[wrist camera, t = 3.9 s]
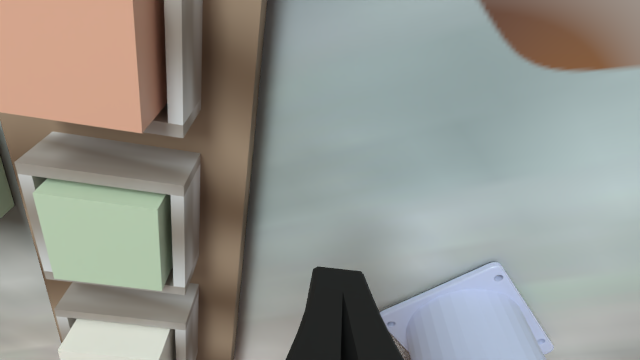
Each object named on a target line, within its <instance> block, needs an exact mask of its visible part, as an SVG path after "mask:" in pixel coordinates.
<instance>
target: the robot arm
mask: <svg viewBox="0 0 640 360" xmlns="http://www.w3.org/2000/svg"><path fill="white" fill-rule="evenodd" d="M497 275H498V276H497ZM389 332H390V333H391V334H392V335H393V336H394V337H395V338H396V340H397V341H398V342H399V343H400V344H401V345H402V346H403V347H404V348H405V349H406V350H407V351H408V352H409V353H410V357H411V360H546V358H545V356H544V354H547V353H549V352H551V351H552V350H553V348H554V347H553V345H552V343H551V341H550V339H549V338H548V336H547V335H546V333H545V332H544V330H543V329H542V327H541V326H540V324H539V322H538V321H537V319H536V318H535V316H534V315H533V313H532V312H531V310H530V308H529V307H528V305H527V304H526V302H525V301H524V299H523V298H522V296H521V295H520V293H519V291H518V290H517V288H516V287H515V285H514V284H513V282H512V281H511V279H510V278H509V276H508V274H507V273H506V271H505V270H504V268H503V267H502V265H501V264H500V263H497V262H492V263H489V264H486V265H484V266H482V267H480V268H477V269H475V270H473V271H471V272H468V273H466V274H464V275H462V276H459V277H457V278H455V279H453V280H451V281H448V282H446V283H444V284H442V285H439V286H437V287H435V288H433V289H430V290H428V291H426V292H424V293H421V294H419V295H417V296H415V297H412V298H410V299H408V300H406V301H403V302H401V303H399V304H397V305H394V306H392V307H390V308H388V309H385V310H383V311H381V312H379V310H378V308H377V306H376V304H375V301H374V299H373V297H372V294H371V292H370V290H369V287H368V284H367V282H366V279H365V276H364V274H363V273H362V272H361V271H352V270H343V269H334V268H325V267H316V268H314V269H313V272H312V278H311V283H310V288H309V293H308V299H307V304H306V309H305V312H304V315H303V318H302V321H301V324H300V327H299V329H298V332H297V335H296V337H295V339H294V342H293V344H292V346H291V349H290V351H289V353H288V356H287V358H286V360H404V359H403V357H402V356H401V354H400V352H399V350H398V348H397V346H396V345H395V343H394V341H393V339H392V337H391V335H390V333H389Z"/></svg>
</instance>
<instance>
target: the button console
mask: <svg viewBox="0 0 640 360" xmlns="http://www.w3.org/2000/svg"><path fill="white" fill-rule="evenodd" d="M266 7H267V0H164V16H165V46H166V76H167V104H166V105H165V106H164V108H163V109H162V110H161V111H160V112H159V114H158V115H157V116H156V117H155V119H154V120H153V121H152V122H151V123H150V125H149V126H148V127H147V128H146V129H145V131H144V132H143V133H135V132H129V131H122V130H115V129H109V128H102V127H95V126H88V125H82V124H75V123H68V122H62V121H55V120H48V119H41V118H35V117H28V116H21V115H15V114H8V113H1V112H0V121H1V125H2V128H3V132H4V136H5V139H6V143H7V147H8V150H9V154H10V157H11V161H12V165H13V168H14V172H15V176H16V179H17V183H18V187H19V190H20V194H21V198H22V201H23V205H24V208H25V212H26V216H27V219H28V223H29V227H30V230H31V234H32V238H33V241H34V245H35V249H36V252H37V256H38V259H39V263H40V267H41V270H42V274H43V278H44V281H45V285H46V289H47V292H48V296H49V300H50V303H51V307H52V310H53V314H54V318H55V321H56V325H57V329H58V332H59V336H60V340H61V343H62V342H63V341H64V339H65V337H66V336H67V334H68V333H69V331H70V329H71V328H72V326H73V324H74V323H75V321H76V319H86V320H95V321H104V322H113V323H122V324H131V325H141V326H150V327H159V328H168V329H175V343H176V360H233V359H234V352H235V342H236V331H237V320H238V309H239V298H240V288H241V277H242V266H243V255H244V244H245V234H246V223H247V212H248V201H249V190H250V180H251V169H252V158H253V147H254V136H255V126H256V115H257V104H258V93H259V83H260V72H261V61H262V50H263V39H264V29H265V18H266ZM47 178H51V179H59V180H66V181H73V182H81V183H88V184H95V185H103V186H110V187H117V188H125V189H132V190H139V191H146V192H154V193H161V194H168V195H171V224H172V254H173V267H172V269H171V271H170V274H169V276H168V278H167V281H166V283H165V285H164V288H163V290H162V291H156V290H147V289H139V288H130V287H122V286H113V285H104V284H96V283H87V282H79V281H70V280H61V279H54V276H53V272H52V268H51V264H50V260H49V256H48V252H47V248H46V244H45V241H44V237H43V233H42V229H41V225H40V221H39V217H38V213H37V209H36V205H35V201H34V197H33V192H34V191H35V190H36V189H37V188H38V187H39V186H40V185H41V184H42V183H43V182H44V181H45V180H46V179H47Z"/></svg>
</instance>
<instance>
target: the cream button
mask: <svg viewBox="0 0 640 360" xmlns="http://www.w3.org/2000/svg"><path fill="white" fill-rule="evenodd" d="M58 354H59V357H60V360H176V343H175V329H168V328H159V327H150V326H141V325H131V324H122V323H113V322H104V321H95V320H86V319H76V321H75V323H74V324H73V326H72V328H71V329H70V331H69V333H68V334H67V336H66V337H65V339H64V341H63V342H62V344H61V346H60V347H59V349H58Z"/></svg>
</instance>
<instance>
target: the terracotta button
mask: <svg viewBox="0 0 640 360" xmlns="http://www.w3.org/2000/svg"><path fill="white" fill-rule="evenodd" d="M166 104H167V76H166V46H165V16H164V0H0V112H1V113H8V114H15V115H21V116H28V117H35V118H41V119H48V120H55V121H62V122H68V123H75V124H82V125H88V126H95V127H102V128H109V129H115V130H122V131H129V132H135V133H143V132H144V131H145V129H146V128H147V127H148V126H149V125H150V123H151V122H152V121H153V120H154V119H155V117H156V116H157V115H158V114H159V112H160V111H161V110H162V109H163V108H164V106H165V105H166Z"/></svg>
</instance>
